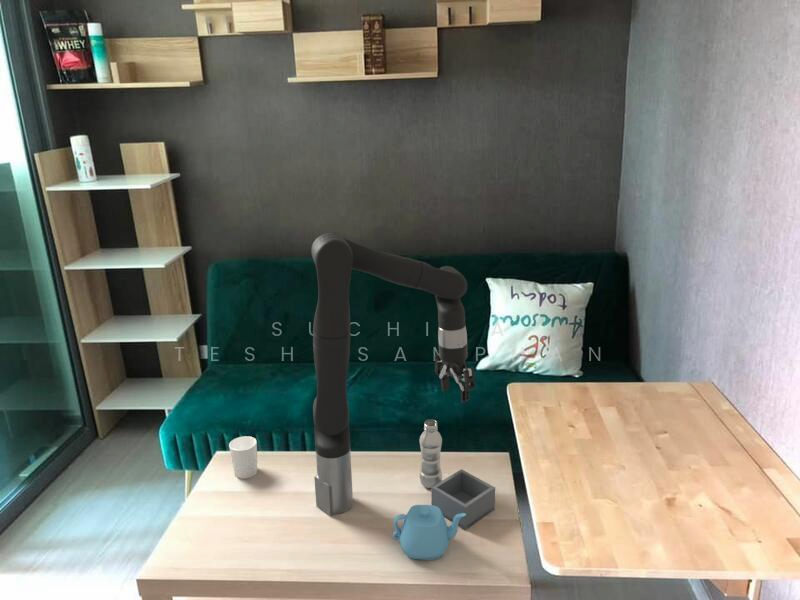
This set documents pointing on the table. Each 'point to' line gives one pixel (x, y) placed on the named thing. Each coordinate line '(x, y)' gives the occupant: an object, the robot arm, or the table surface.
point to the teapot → (425, 532)
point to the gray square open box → (464, 498)
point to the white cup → (244, 456)
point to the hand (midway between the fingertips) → (455, 395)
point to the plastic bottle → (430, 455)
